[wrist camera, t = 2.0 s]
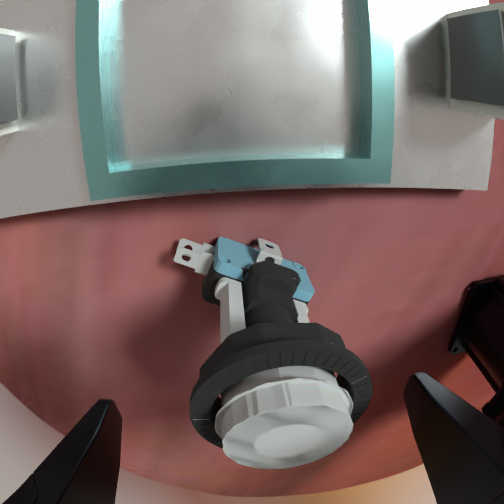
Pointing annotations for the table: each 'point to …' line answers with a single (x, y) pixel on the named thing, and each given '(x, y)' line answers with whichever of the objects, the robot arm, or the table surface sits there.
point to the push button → (271, 362)
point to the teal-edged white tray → (232, 100)
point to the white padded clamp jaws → (461, 65)
